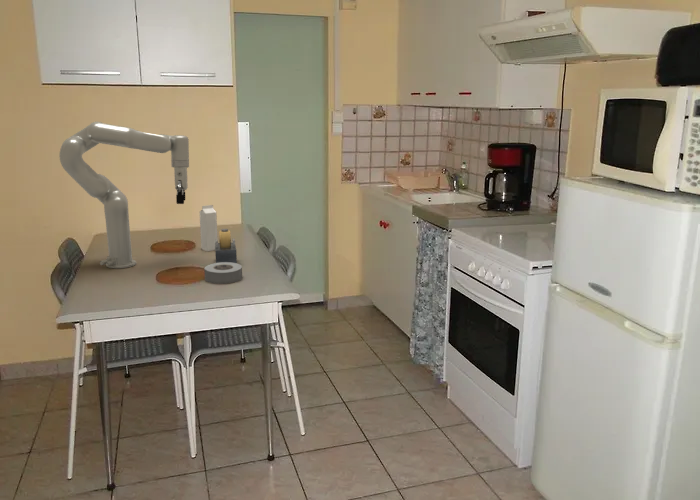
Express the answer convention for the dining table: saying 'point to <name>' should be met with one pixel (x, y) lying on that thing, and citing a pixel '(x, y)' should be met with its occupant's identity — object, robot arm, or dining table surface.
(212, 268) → the tape roll
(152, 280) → the dining table surface
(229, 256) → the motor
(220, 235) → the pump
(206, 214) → the milk
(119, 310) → the dining table surface
